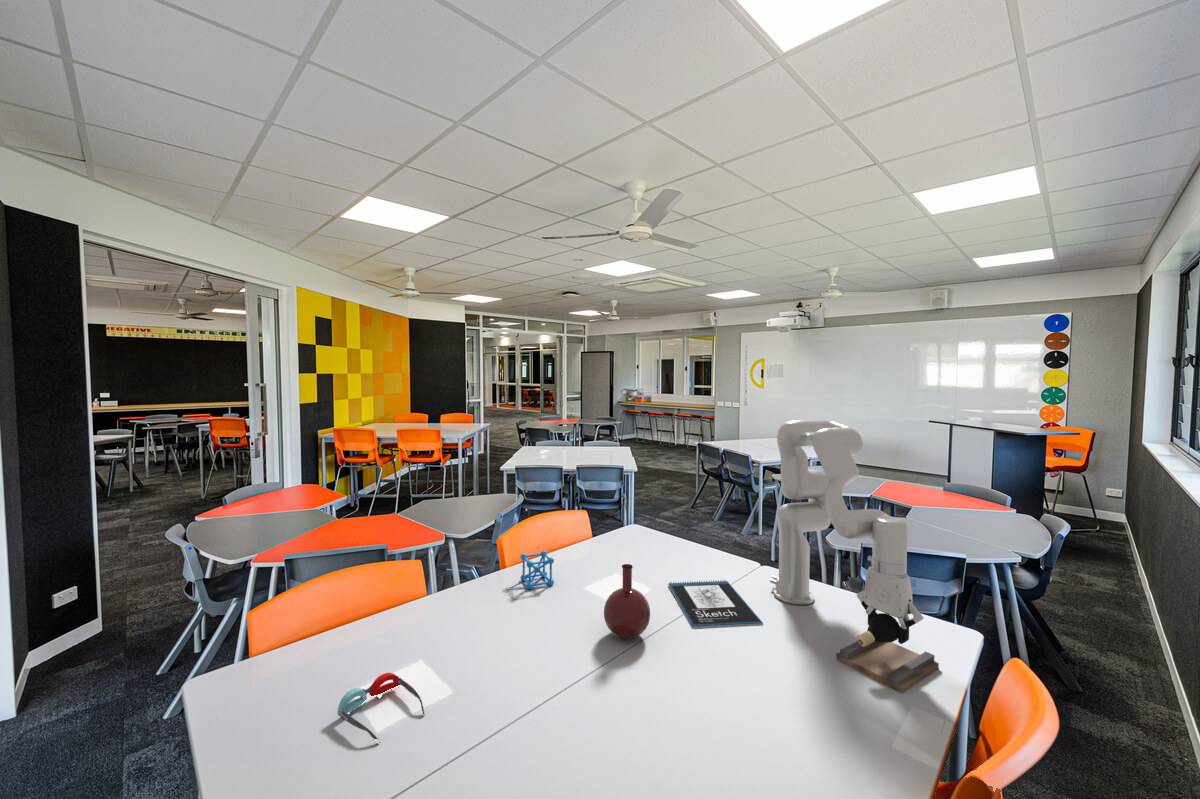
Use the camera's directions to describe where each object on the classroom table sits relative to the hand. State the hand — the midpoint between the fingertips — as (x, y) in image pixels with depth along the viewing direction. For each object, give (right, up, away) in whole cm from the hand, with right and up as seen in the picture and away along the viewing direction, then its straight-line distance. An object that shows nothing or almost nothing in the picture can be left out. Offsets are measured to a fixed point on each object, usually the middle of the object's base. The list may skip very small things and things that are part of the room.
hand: (887, 634), depth 122 cm
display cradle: (0, -8, 0) cm, 8 cm away
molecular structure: (-96, -6, +49) cm, 108 cm away
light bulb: (-4, -1, -1) cm, 4 cm away
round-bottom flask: (-66, -7, +14) cm, 68 cm away
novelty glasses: (-120, -9, -19) cm, 122 cm away
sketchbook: (-37, -7, +34) cm, 51 cm away
